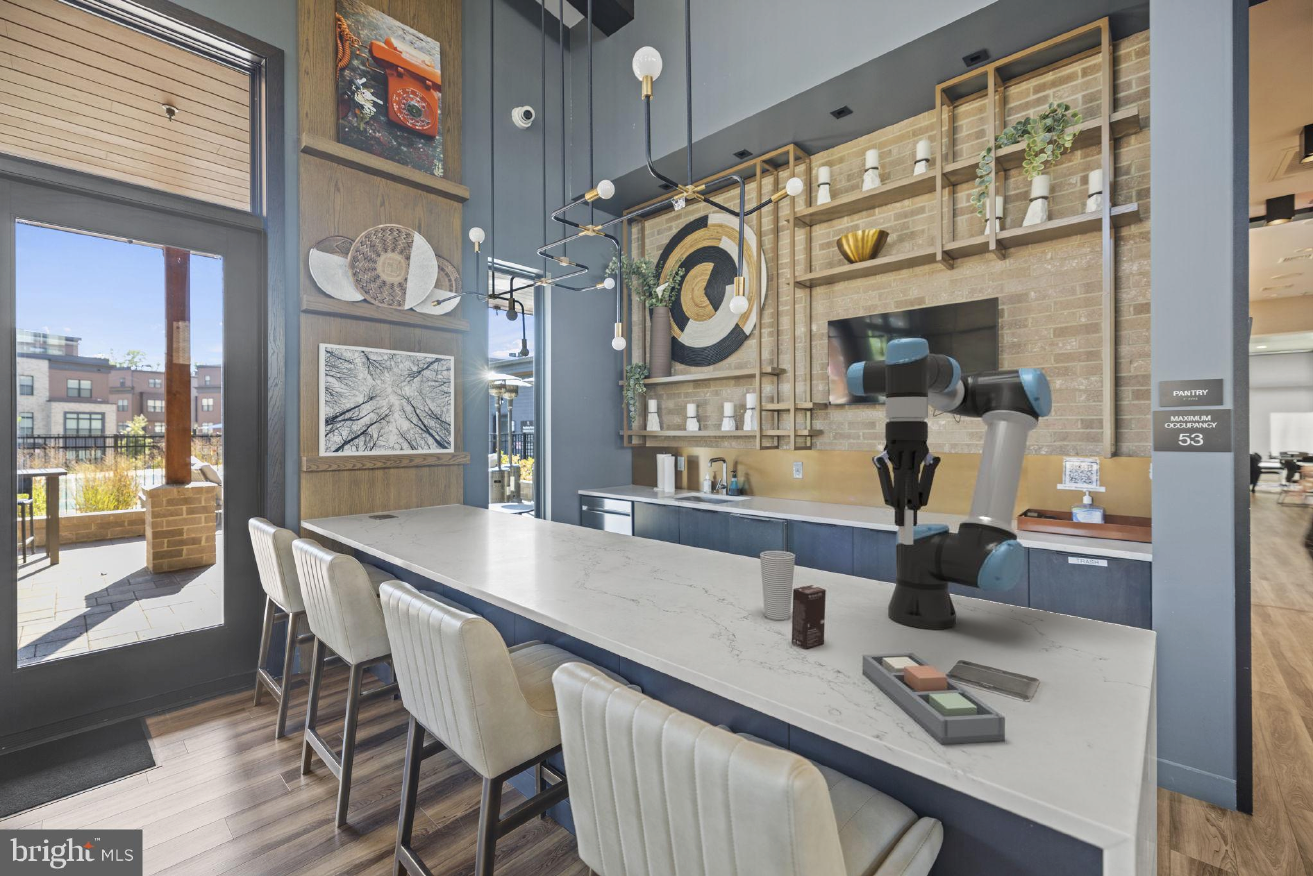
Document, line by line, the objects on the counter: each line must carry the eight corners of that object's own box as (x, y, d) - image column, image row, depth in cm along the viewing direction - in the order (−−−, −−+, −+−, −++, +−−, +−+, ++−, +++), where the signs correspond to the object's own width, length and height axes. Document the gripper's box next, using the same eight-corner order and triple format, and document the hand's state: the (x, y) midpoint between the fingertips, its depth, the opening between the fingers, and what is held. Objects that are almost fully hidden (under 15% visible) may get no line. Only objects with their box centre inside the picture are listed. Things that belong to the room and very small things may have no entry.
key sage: (957, 708, 93) (957, 693, 93) (976, 723, 88) (976, 707, 88) (928, 709, 92) (929, 694, 92) (947, 725, 87) (947, 708, 87)
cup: (799, 615, 144) (799, 553, 144) (787, 624, 137) (788, 559, 137) (767, 609, 149) (767, 549, 149) (754, 618, 142) (754, 555, 141)
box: (807, 650, 121) (807, 593, 121) (791, 643, 125) (791, 588, 125) (826, 644, 124) (826, 588, 124) (810, 638, 128) (810, 584, 128)
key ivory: (907, 670, 108) (907, 656, 107) (921, 681, 103) (921, 667, 103) (882, 671, 107) (882, 657, 107) (895, 682, 102) (895, 668, 102)
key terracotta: (930, 679, 100) (930, 665, 100) (947, 692, 95) (947, 677, 95) (904, 680, 100) (904, 666, 100) (919, 693, 95) (919, 678, 95)
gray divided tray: (912, 671, 110) (912, 653, 110) (1004, 740, 86) (1004, 717, 85) (862, 673, 109) (862, 655, 109) (941, 744, 84) (941, 720, 84)
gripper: (927, 420, 115) (926, 538, 115) (864, 420, 114) (864, 540, 114) (950, 420, 108) (949, 546, 108) (883, 419, 106) (883, 547, 107)
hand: (905, 543), depth 111 cm, fingers closed
